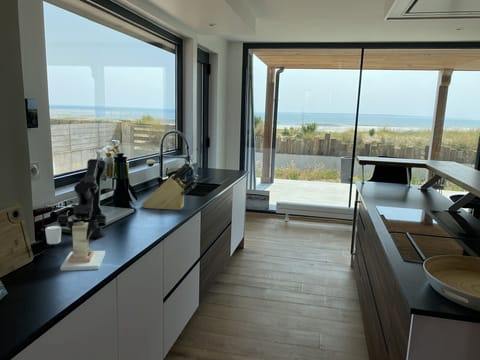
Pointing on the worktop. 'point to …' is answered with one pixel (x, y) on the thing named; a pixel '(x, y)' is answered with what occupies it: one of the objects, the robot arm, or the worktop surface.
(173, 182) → the knife block
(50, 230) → the white cup
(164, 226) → the worktop surface
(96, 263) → the base plate
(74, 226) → the maple pillar
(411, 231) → the worktop surface
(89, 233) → the robot arm
